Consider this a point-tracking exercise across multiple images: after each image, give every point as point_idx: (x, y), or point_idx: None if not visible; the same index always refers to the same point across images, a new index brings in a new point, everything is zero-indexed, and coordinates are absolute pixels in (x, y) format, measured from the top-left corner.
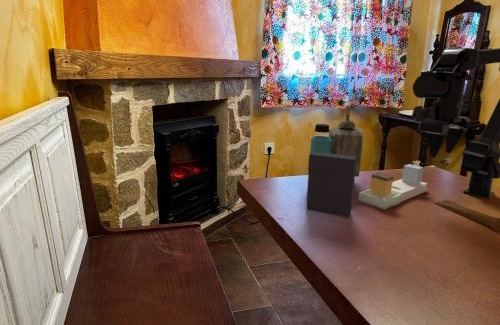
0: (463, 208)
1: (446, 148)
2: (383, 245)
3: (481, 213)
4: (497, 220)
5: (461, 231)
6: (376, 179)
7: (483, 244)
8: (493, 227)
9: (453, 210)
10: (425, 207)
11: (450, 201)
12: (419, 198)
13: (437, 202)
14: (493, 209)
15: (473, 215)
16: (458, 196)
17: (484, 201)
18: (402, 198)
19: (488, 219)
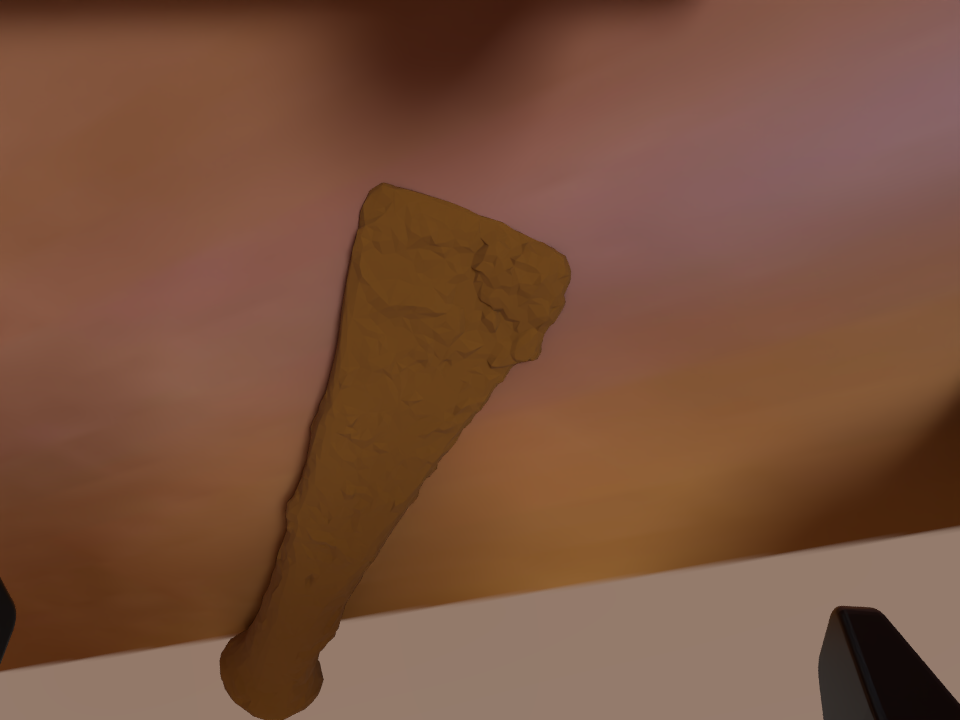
0: (364, 474)
1: (860, 705)
2: None
3: (312, 604)
4: (234, 696)
5: (34, 531)
6: None
7: None
8: (225, 649)
9: (321, 401)
10: (169, 201)
11: (527, 313)
12: (366, 12)
13: (376, 240)
14: (696, 557)
15: (281, 554)
16: (868, 272)
17: (889, 472)
18: None
19: (251, 644)
